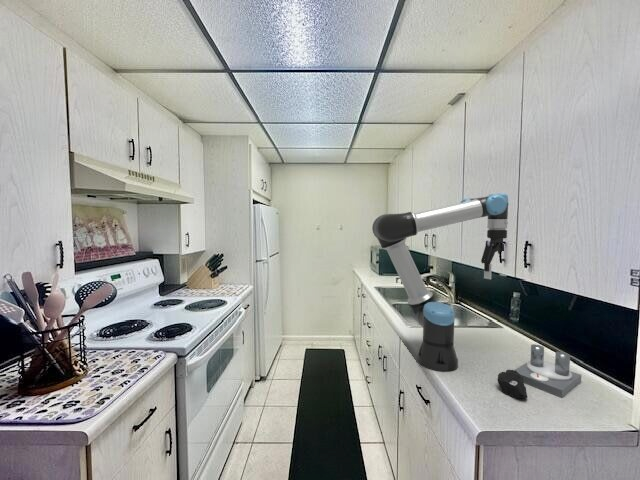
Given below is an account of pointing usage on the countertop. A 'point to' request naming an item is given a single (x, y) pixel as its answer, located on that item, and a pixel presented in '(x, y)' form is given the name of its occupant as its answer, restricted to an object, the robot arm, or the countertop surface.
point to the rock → (512, 384)
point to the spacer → (537, 355)
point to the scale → (548, 378)
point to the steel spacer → (562, 363)
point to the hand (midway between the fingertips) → (495, 277)
